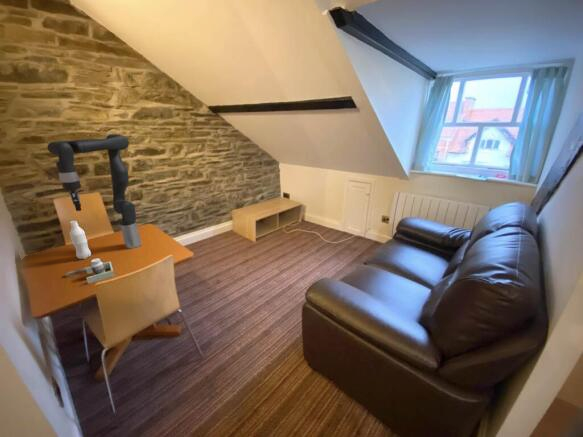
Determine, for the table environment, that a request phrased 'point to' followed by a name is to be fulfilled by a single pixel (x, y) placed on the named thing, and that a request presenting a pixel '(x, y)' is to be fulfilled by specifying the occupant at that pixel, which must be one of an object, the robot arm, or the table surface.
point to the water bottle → (79, 241)
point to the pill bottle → (97, 266)
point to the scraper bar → (76, 272)
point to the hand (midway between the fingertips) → (78, 208)
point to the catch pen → (100, 276)
